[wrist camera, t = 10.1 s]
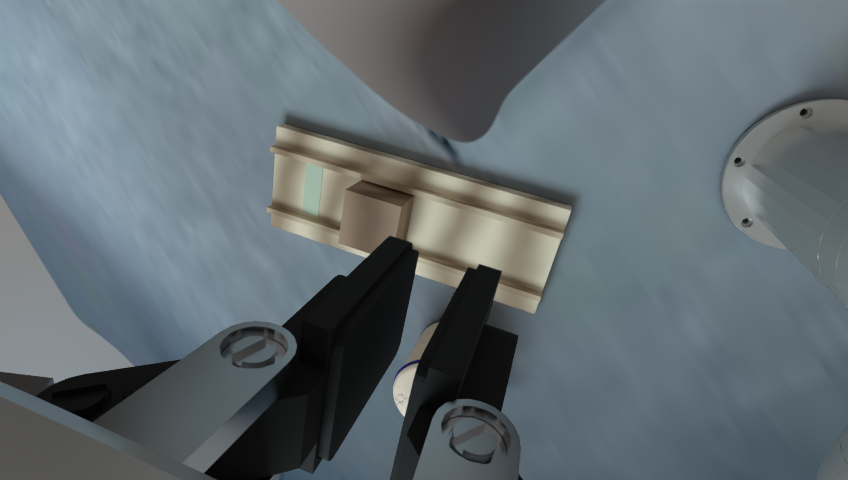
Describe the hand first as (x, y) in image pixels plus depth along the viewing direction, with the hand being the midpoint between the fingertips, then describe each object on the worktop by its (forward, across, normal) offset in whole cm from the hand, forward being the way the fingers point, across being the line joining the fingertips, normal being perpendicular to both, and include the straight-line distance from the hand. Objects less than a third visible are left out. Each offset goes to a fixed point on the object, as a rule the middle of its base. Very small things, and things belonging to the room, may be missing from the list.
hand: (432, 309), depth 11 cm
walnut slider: (+35, +13, +14) cm, 40 cm away
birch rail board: (+37, +11, +14) cm, 41 cm away
